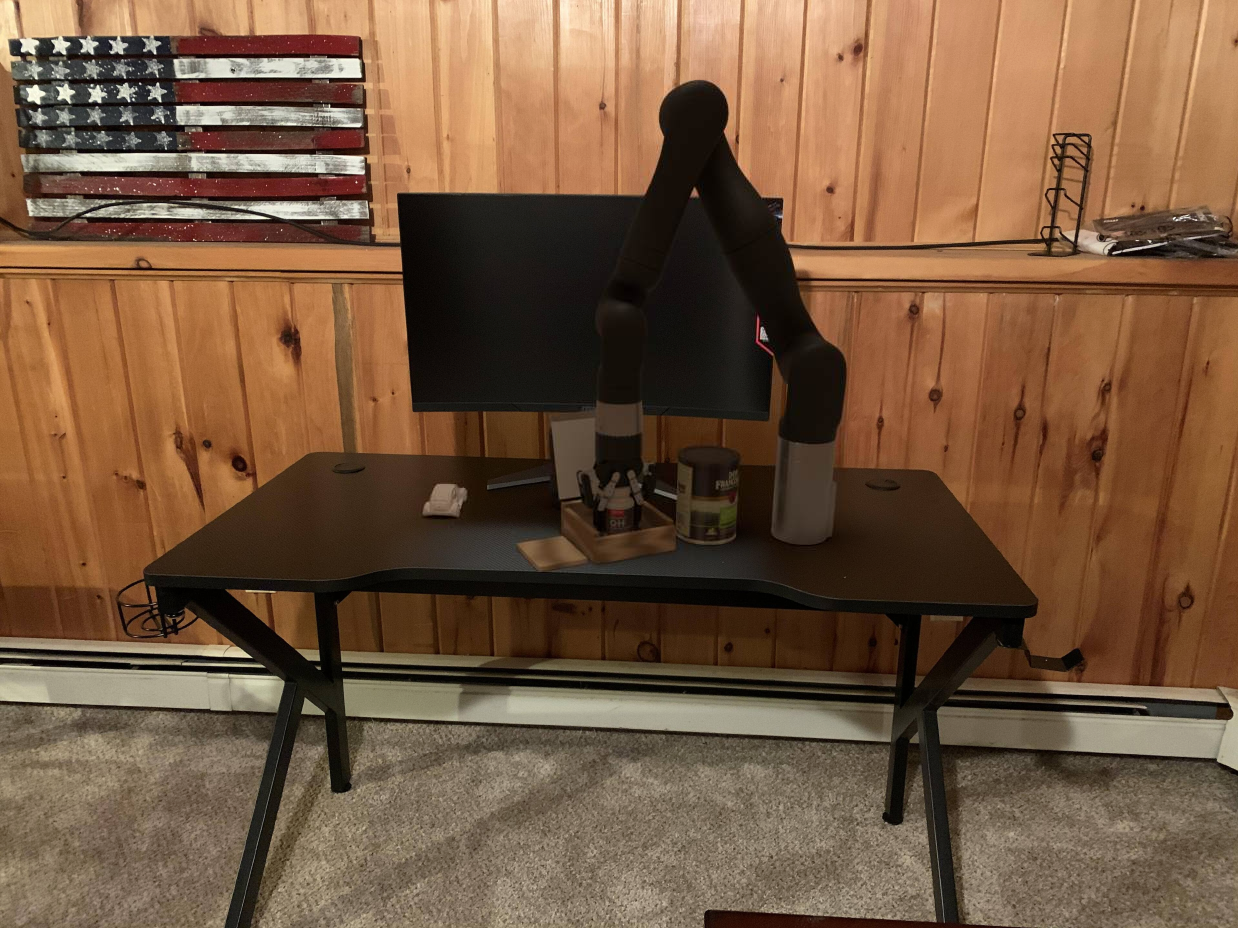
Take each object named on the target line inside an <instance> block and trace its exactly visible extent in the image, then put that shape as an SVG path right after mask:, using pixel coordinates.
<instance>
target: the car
mask: <svg viewBox="0 0 1238 928" xmlns="http://www.w3.org/2000/svg"><path fill="white" fill-rule="evenodd" d="M467 495H468V490H467V489H466V488H465V487H459V486H458V485H457V484H453V483H438V484H436V485H435V486H434V488H433V490H432V492H431V493H430V497H429V499H428V500H429V501H427V502H425V503H424V506H423V509H422V516H424V517H429V516H450V517H451V516H452V517H453V518H454V517H455V518H458V517H459V516H460V512H461V511H460V510H461V509H462V505H463V503H464V502H466V501H467V497H468V496H467Z"/></svg>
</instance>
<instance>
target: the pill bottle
mask: <svg viewBox="0 0 1238 928" xmlns="http://www.w3.org/2000/svg"><path fill="white" fill-rule="evenodd" d="M629 495H630V486H626V487H618V488H614V490H613V493H612V495H611V498H610V499H608V501H607V504H606V506H605V509H604V510H605V511H606V518H605V532H600V537H604V536H609V535H615V534H621V533H627V532H633V531H635V528H634V500H633V498H632V497H631V496H629Z"/></svg>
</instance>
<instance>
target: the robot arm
mask: <svg viewBox="0 0 1238 928" xmlns="http://www.w3.org/2000/svg"><path fill="white" fill-rule="evenodd" d="M729 116H730V112H729V104H728V100H727V97H726V96H725V94H724V92H723V90H721V88H720V87H719V86H718V85H716V84H715V83H713V82H712V81H708V80H704V79H695V80H694V79H693V80H689V81H686V82H684V83H681V84H680V85H678V86H677V87H674V88H673V89H672V90H670V91H669V92H668V93H667V94H666V95H665V96H664V98H663V100H662V101H661V104H660V107H659V111H658V123H659V125H658V126H659V128H660V131H661V134H662V136H663V141H662V145H661V150H660V154H659V158H658V161H657V164H656V167H655V170H654V173H653V175H652V177H651V180H650V183H649V185H648V187H647V189H646V192H645V193H644V196H643V198H642V200H641V201H640V204H639V206H638V208H637V210H636V212H635V214H634V217H633V219H632V221H631V223H630V226H629V228H628V231H627V233H626V236H625V239H624V241H623V244H622V247H621V250H620V253H619V257H618V258H617V259H618V260H617V263H616V266H615V270H614V272H613V274H612V275H611V277H610V279H609V281H608V283H607V285H606V287H605V289H604V291H603V294H602V297H601V298H600V300H599V302H598V306H597V309H596V312H595V318H594V325H595V328H596V331H597V334H599V335H600V338H601V357H600V359H601V362H600V363H601V364H600V365H599V367H598V370H597V375H596V377H597V379H596V407H595V410H596V412H595V459H596V460H595V464H594V466H593V469H590V470H587V471H584V472H583V471H582V470H579V471H577V473H576V475H577V480H578V486H579V491H580V496H581V501H582V503H583V504H584V505H585V506H586V507H588V508H589V509H593V525H594V527H596V529H597V531H598V532H599V533H601V532H605V518H606V511H605V510H604V509H605V506H606V504H607V501H608V499H610V498H611V495H612V493H613V490H614V488H618V487H626V486H630V495H629V496H631V497H632V498H633V500H634V527H638V525H639V522H641V519H642V504H643V502H644V501H646V502H647V501H648V500H649V501H651V500H653V498H654V495H655V490H656V486H657V481H658V476H659V471H660V466H659V465H658V464H656V463H655V462H653V461H652V460H648V461H645V462H644V461H643V460H642V455H643V441H644V440H643V438H644V435H643V434H644V433H643V432H644V431H643V430H644V411H643V409H644V408H643V367H644V362H645V355H646V349H647V342H648V341H647V339H648V325H647V318H646V316H645V314H644V313H643V311H644V309H645V305H646V303H647V300H648V299H649V296H650V293H651V292H652V291H653V290H655V289H656V287H658V285H659V283H660V281H661V279H662V277H663V275H664V271H665V268H666V266H667V264H668V260H669V258H670V255H671V251H672V248H673V246H674V244H675V241H676V237H677V235H678V232H679V228H680V226H681V222H682V220H683V218H684V215H685V212H686V209H687V207H688V204H689V201H690V199H691V196H692V193H693V191H694V189H695V191H696V193H697V196H698V198H699V201H700V202H701V206H702V209H703V211H704V213H705V215H706V219H707V221H708V223H709V225H710V228H711V231H712V233H713V234H714V236H715V239H716V241H717V244H718V246H719V249H720V251H721V252H722V255H723V257H724V259H725V261H726V263H727V264H728V267H729V269H730V271H731V273H732V275H733V276H734V279H735V280H736V282H737V283H738V286H739V288H740V289H741V292H742V293H743V294H744V296H745V298H746V299H747V302H748V303H749V305H750V306H751V308H752V309H753V311H754V313H755V314H756V316H757V318H758V319H759V321H760V323H761V325H762V328H763V330H764V332H765V334H766V338H767V341H768V343H769V346H770V348H771V352H772V354H773V358H774V360H775V363H776V366H777V369H778V372H779V374H780V376H781V378H782V380H783V381H784V382H785V384H787V387H786V388H787V389H786V398H785V399H786V400H785V409H784V413H783V415H781V417H780V418H779V421H778V430H777V444H776V446H777V447H776V460H775V471H774V472H775V473H774V488H773V489H774V490H773V503H772V518H771V531H770V534H771V535H772V536H773V537H774V538H775V539H777V540H779V541H781V542H784V543H787V544H793V545H801V546H806V545H807V546H808V545H816V544H820V543H823V542H825V541H826V540H827V538H830V537H831V538H832V537H833V528H834V517H835V508H836V507H835V505H836V495H837V482H836V481H834V480H833V474H834V462H835V450H836V440H837V430H838V428H839V426H840V423H841V421H842V417H843V411H844V404H845V403H844V402H845V396H846V387H847V378H848V373H847V372H848V368H847V366H848V365H847V361H846V358H845V355H844V354H843V352H842V351H841V350H840V349H839V348H838V347H837V346H836V345H834V344H832V343H831V342H830V341H828V340H826V339H825V338H824V337H823V336H822V333H820V331H819V329H818V328H817V325H816V324H815V323H814V321H813V319H812V317H811V316H810V314H809V311H808V310H807V308H806V306H805V304H804V302H803V298H802V295H801V292H800V289H799V288H800V287H799V283H798V279H797V273H796V268H795V265H794V261H793V257H792V254H791V250H790V248H789V246H788V243H787V241H786V238H785V236H784V235H783V232H782V230H781V228H780V226H779V224H778V221H777V220H776V217H775V216H774V214H773V213H772V211H771V209H770V207H769V206H768V204H767V203H766V202H765V200H764V199H763V198H762V196H761V194H760V193H759V192H758V191H757V189H756V188H755V187H754V185H753V184H752V183H751V181H750V180H749V179H748V177H746V175H745V174H744V172H743V170H742V169H741V168H740V166H739V164H738V162H737V160H736V158H735V156H734V154H733V152H732V149H731V146H730V144H729V141H728V138H727V136H726V133H725V130H726V127H727V125H728V122H729ZM641 473H642V474H643V477H642V480H641V482H642V483H641V486H640V484H639V483H638V480H637V479H638V477H639V476H640V474H641ZM594 476H596V477H597V478H598V480H599V481H598V484H597V486H596V489H595V491H596V493H595V494H593V493H592V488H591V484H592V483H593V478H594Z"/></svg>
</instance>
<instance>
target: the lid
mask: <svg viewBox="0 0 1238 928" xmlns="http://www.w3.org/2000/svg"><path fill="white" fill-rule="evenodd" d="M595 412H596V409H594V410H584V411H576V412H567V413H556V414H550V415H549V422H550V425H551V427H552V436H553V446H554V455H555V465H556V474H557V483H558V493H559V499H566V498H573V497H579V496H580V491H579V486H578V480H577V475H576V473H577V471H579V470H582V471H583V472H584V471H587V470H590V469H593V466H594V464H595V460H596V459H595ZM598 481H599V480H598V478H597V477H596V476H594V478H593V483H592V484H591V488H592V493H593V495H595V493H596V491H595V489H596V486H597V484H598Z"/></svg>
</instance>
